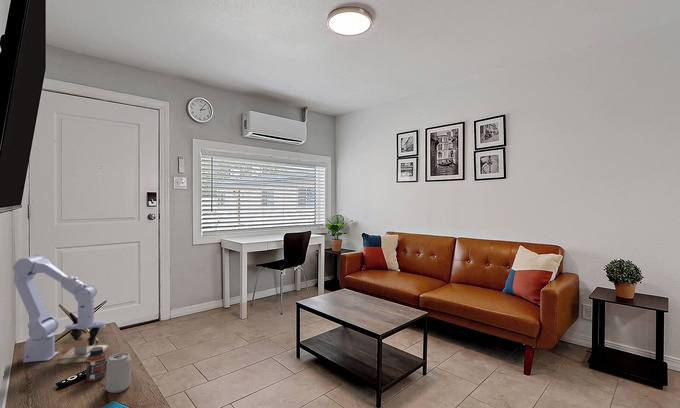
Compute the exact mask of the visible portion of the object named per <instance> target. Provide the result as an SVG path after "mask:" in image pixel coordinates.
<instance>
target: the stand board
mask: <svg viewBox="0 0 680 408" xmlns="http://www.w3.org/2000/svg"><path fill="white" fill-rule="evenodd" d="M95 347H103V352H104V353H106V351H107V350H108V349H109V348H111V344H110V343H96V344H95V346H94V347H93V348H95ZM74 351H75V345H74V346H73V347H72V348H71V349H69V350H68V351H67V352H66V353H65V354H63V356H61V357H59V358H58V359H57V365H60V364H62V365H63V364H72V363H82V362H84V363H85V362H86V363H87V357H88V356H89V355H90V351H89V352H88V353H87V354H77V355H74Z"/></svg>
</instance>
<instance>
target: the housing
mask: <svg viewBox="0 0 680 408" xmlns="http://www.w3.org/2000/svg"><path fill="white" fill-rule="evenodd" d="M95 345H96V341H95V342H94V344H93V345H92V346H90V333H89V332H83V333H81V336H80V337H79V338H77V339H76V340H74V346H75V351H74V355H77V354H87V353H88V352H89V351H90V350H91V349H92V348H93V347H94V346H95Z"/></svg>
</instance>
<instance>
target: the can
mask: <svg viewBox="0 0 680 408" xmlns="http://www.w3.org/2000/svg"><path fill="white" fill-rule="evenodd" d="M105 369H106V370H105V390H106V391H107V392H109V393H111V394H117V393H121V392H123V391H125V390H127V389H128V388H129V387H130V386H131V384H132V379H131V378H132V377H131V376H132V375H131V373H132V372H131V371H132V358H131V356H130V354H129V352H118V353H115V354H112V355H110V356H109V358H108V360H106V364H105Z"/></svg>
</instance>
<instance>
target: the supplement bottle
mask: <svg viewBox="0 0 680 408" xmlns="http://www.w3.org/2000/svg"><path fill="white" fill-rule="evenodd" d="M106 357H107V355H106V352H103V347H95V348H92V349H91V350H90V355H89V356H88V357H87V361H86V377H85V378H86V381H87V382H96V381H100V380H101V379H104V377H106V363H107V360H106V359H107V358H106Z"/></svg>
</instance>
